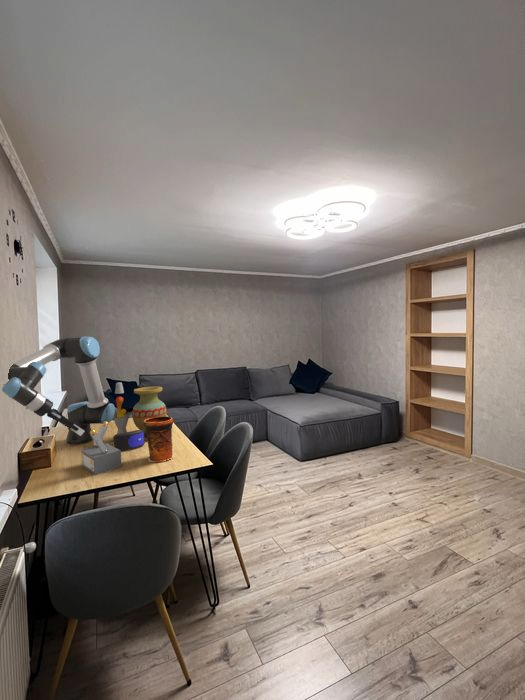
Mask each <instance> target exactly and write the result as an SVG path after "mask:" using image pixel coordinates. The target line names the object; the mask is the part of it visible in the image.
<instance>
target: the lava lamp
mask: <svg viewBox="0 0 525 700" xmlns="http://www.w3.org/2000/svg"><path fill="white" fill-rule="evenodd" d="M124 393H125V391H124V386H123V383H122V382H116V383H115V391H114V394H116V395H117V394H124ZM115 403H116V409H117V415H114V417H113V419H112V420H113V422H114V424H115V425H116V427H117V432H116V434H120V433H125V432H128V431H127V426H128V422H129V418H130V415H129V414H127V410H126V409H125V408H122V404H123V403H124V397H122V396H117V397H115Z"/></svg>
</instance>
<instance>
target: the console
mask: <svg viewBox="0 0 525 700" xmlns="http://www.w3.org/2000/svg"><path fill="white" fill-rule="evenodd" d="M104 445H105V447H106V448H107V453H103V452H101V450H100V449H99V447H96V446H94V445H93V446H90V447H86V448H82V449H80V459H81V460H80V462H81V466H82V467H83V468H85V469H86V470H87V471H89V472H90V473H92V474H93V475H95V476H96V475H99V474H103V473H106V472H110V471H113V470H115V469H119V468H122V466H123V465H122V451H121V450H119V449H117V448H115V447H114V445H111V444H108V443H104Z"/></svg>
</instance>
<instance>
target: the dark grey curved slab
mask: <svg viewBox="0 0 525 700" xmlns="http://www.w3.org/2000/svg"><path fill="white" fill-rule="evenodd" d="M112 441H113V447H115V448H117V449H119V450H121V452H127V451H133V450H136V449H140V448H142V447H143V446H144V445H145V444H146V443H145V442H146V441H144V430H140V429H136V430H131V431H127V432H125V433H120V434H117V433H116V434H114V435H113V437H112Z"/></svg>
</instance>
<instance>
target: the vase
mask: <svg viewBox="0 0 525 700" xmlns="http://www.w3.org/2000/svg"><path fill="white" fill-rule="evenodd" d="M162 391H163V387H162V386H143V387H138V388H134V389H133V394H136V395H138V396H139V401H138V402H137V403H136V404H135V405H134V406H133V407H132V412H131V416H132V421H133V424H134V425H135V428H137V430H144V442H148V440H147V431H146V428H145V426H144V420H146V419H149V418H154V417H161V416H167V406H166V404H165V403H164V402H163V401H162V400H160V399H159V398H158V394H159V393H161V392H162Z"/></svg>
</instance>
